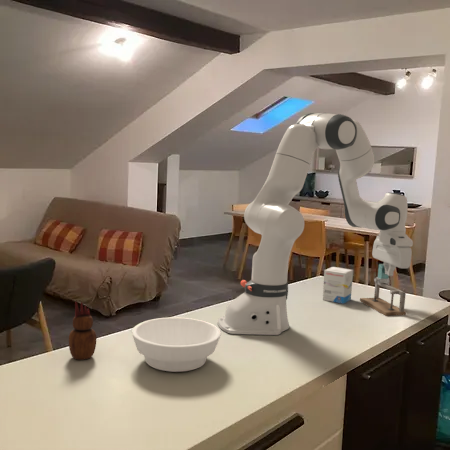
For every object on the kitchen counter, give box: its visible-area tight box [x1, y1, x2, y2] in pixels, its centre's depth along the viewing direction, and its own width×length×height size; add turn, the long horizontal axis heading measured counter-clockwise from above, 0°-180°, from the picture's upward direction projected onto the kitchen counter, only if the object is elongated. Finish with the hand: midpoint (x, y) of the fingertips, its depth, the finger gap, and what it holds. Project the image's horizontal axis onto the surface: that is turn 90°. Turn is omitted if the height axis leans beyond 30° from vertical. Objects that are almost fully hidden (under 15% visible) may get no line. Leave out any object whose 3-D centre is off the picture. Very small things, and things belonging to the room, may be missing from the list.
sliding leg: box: [373, 263, 390, 300], centre depth 200 cm, size 5×3×13 cm, turn 105°
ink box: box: [322, 266, 354, 305], centre depth 204 cm, size 9×8×12 cm
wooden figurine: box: [68, 301, 97, 361], centre depth 137 cm, size 7×6×15 cm
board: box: [359, 281, 407, 317], centre depth 196 cm, size 8×18×8 cm, turn 15°
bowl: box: [131, 316, 222, 373], centre depth 137 cm, size 22×22×8 cm
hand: (388, 275), depth 197 cm, fingers closed
